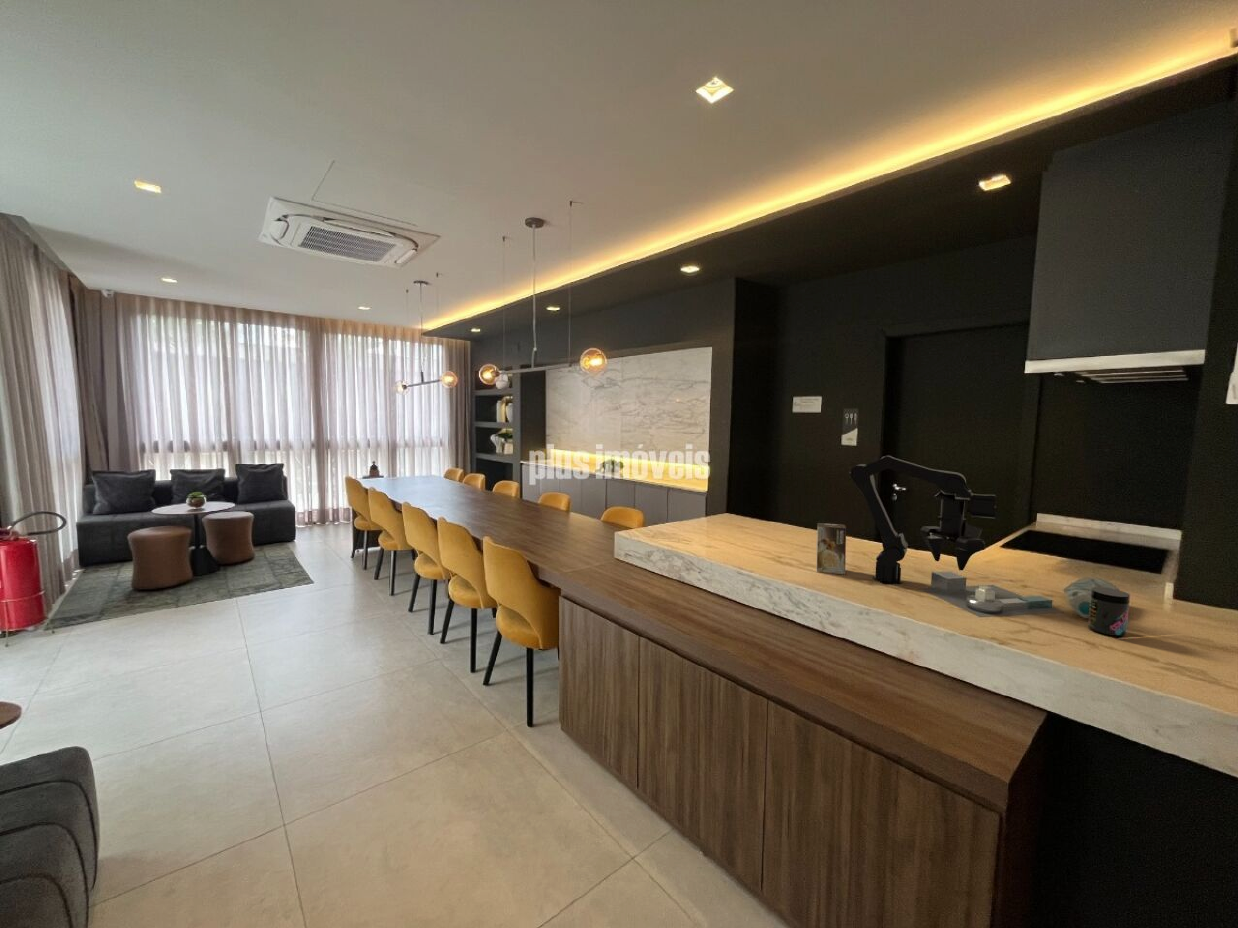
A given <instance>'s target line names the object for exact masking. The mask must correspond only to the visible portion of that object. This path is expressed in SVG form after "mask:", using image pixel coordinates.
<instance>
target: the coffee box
mask: <svg viewBox="0 0 1238 928" xmlns="http://www.w3.org/2000/svg"><path fill="white" fill-rule="evenodd" d="M846 526H847V525H845V524H840V523H829V522H828V523H827V522H825V523H824V522H817V526H816V527H817V534H816V538H817V539H816V573H824V574H825V573H827V574H836V575H838V574H839V575H846V558H847V556H846V551H847V549H846V544H847V527H846Z"/></svg>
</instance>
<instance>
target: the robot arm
mask: <svg viewBox="0 0 1238 928" xmlns="http://www.w3.org/2000/svg"><path fill="white" fill-rule="evenodd" d="M885 470H891V471H894V472H897V473H900V474H904V475H907V476H909V477H913V478H916V479H919V480H922V481H926V482H928V483H930V484H932V485H933V486H936V487H938V488H940V489H941V490H940V491H939V492H938V493H937V494H935V495H934V497H933V498H934V499H935V500H941V504H940V516H936V520H937V521H939V526H937V525H932V526H931V525H929V526H922V527H921V528H920V530H919V536H922V539H923V540H924V541H925V544H926V545H927V546H928V549H929V551H930V552H931V553H930V554H931V555H932V557H933V559H934V561H935V562H940V560H941V553H942V547H943V543H944V542H945V541H946V540H948V541H951V542H953V543H955V546H956V547H954V553H955V557H956V563H957V568H958V570H959V571H964V570H965V568H966V567H967V566H966V565H967V564H968V562H969V560H970V558H971V557H972V555H974V554H975V553H977V552H978V553H979V552H980V551H984V550H985V547H986V543H985V541H984V540H983V539H981V538H980V536H981V533H982V530H983V529H982V528H979V527H976V526H974V525H971V524H969V522H968V521H969V520H968V519H967V518H964V517H965V505H967V507H966V513H968V514H969V515H970V517H972V518H973V517H975V518H985V519H996V512H997V507H996V497H997V496H996V495H995V494H978V493H973V492H972V489H970V488H969V487H968V486H967V481H966V477H965V476H964V475H963V474H962V473H960V472H955V471H952V470H951V471H949V470H942V469H934V468H931V467H926V466H924V465H923V466H922V465H919V464H916V463H913V462H910V461H906V460H903V459H899V458H896V457H893V456H891V455H885V456H882V457H881V458H879V459H877V460H875V461H873V462H870V463H869V464H864V463H860V464H857V465H855V466H853V467H852V468H851V469H850V471H849V477H850V479H851V481H852V483H854V485H855V487H856V488H857V489H858V490H859V491H860V492H861V494H862V495H863V498H864V500H865V502H866V504H867V506H868V509H869V511H870V514H871V516H872V518H873V520H874V522H875V524H876V527H877V529H878V532H879V534H880V539H881V545H882V549H883V550H882V551H880V552H879V553H878V555H877V557H876V558H875V559H876V561H875V576H872V577H871V578H872V579H873V580H874V581H877V582H879V583H881V584H882V585H885V586H886V585H902V584H904V582H903V581H901V578H902V567H901V563H900V561H902V560H903V559H904V558H905V556H906V555H907V552H908V546H909V543H908V542H907V541H906V539H905V535H904V533H903V532H901V533H899V534H898V532H897V531H896V530H895V528H894V527H893V523H892V522H891V519H890V518H889V515H888V513H887V511H886V508H885V507H884V504H883V502H882V500H881V498H880V496H879V492H878V491H877V487H876V480H875V477H874V475H875V474H878V473H880V472H882V471H885ZM944 491H945V492H948V493H945V492H944ZM956 495H959V496H960V497H958V496H956ZM966 502H967V504H965V503H966Z"/></svg>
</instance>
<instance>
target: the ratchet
mask: <svg viewBox="0 0 1238 928" xmlns="http://www.w3.org/2000/svg"><path fill="white" fill-rule="evenodd" d="M978 586H979V585H978ZM1053 602H1054V601H1053V599H1051V598H1048V597H1045V596H1042V595H1030V596H1029V595H1028V596H1023V597H1018V598H1017V599H995V592H994V591H992V588H990V587H988V586H979V588H978V589H976V593H975V595H969V596H967V603H966V606H967V607H968V608H969V609H971V610H974V611H977V612H980V613H985V614H1001V613H1002V612H1003V610H1009V609H1027V608H1028V609H1035V608H1053Z"/></svg>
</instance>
